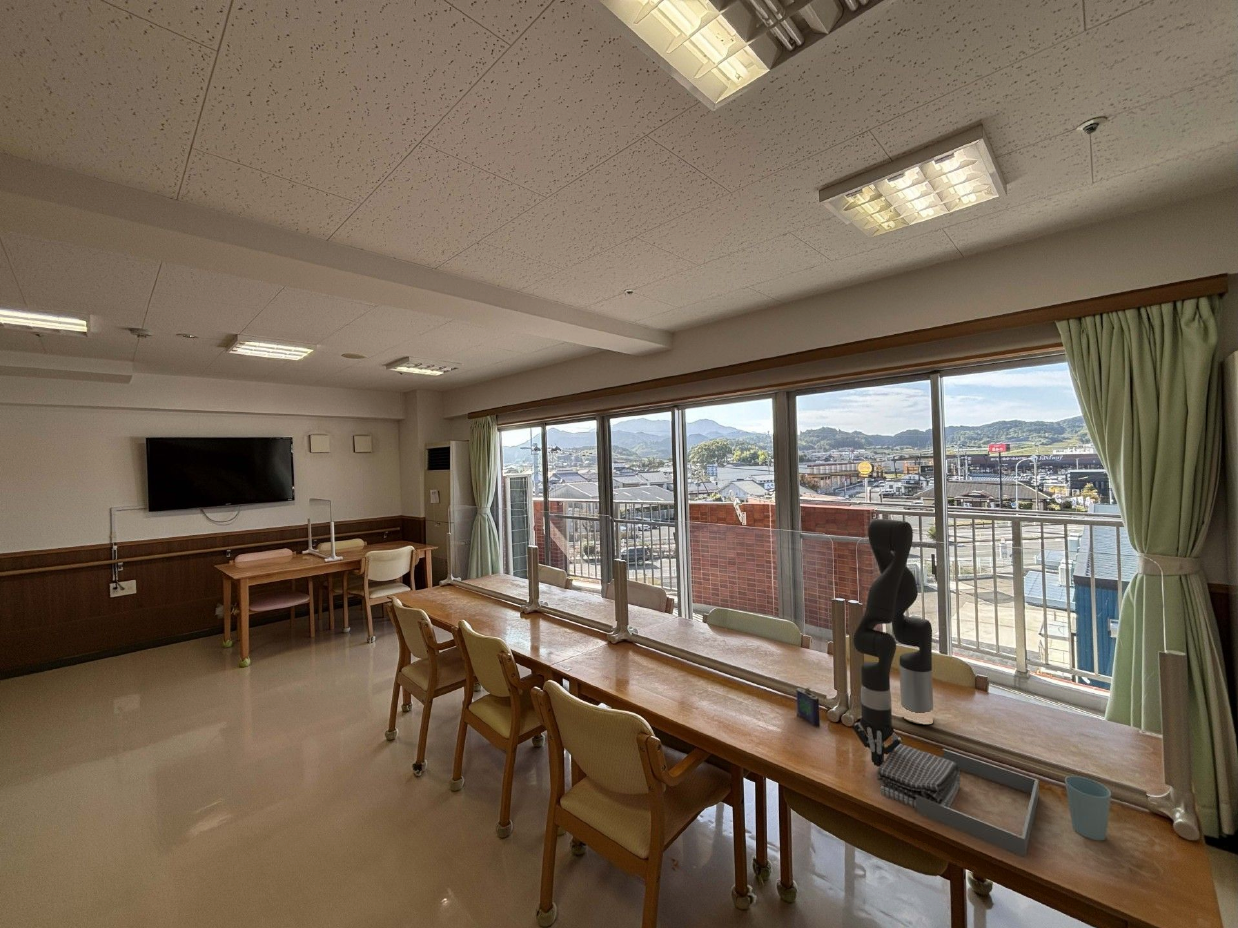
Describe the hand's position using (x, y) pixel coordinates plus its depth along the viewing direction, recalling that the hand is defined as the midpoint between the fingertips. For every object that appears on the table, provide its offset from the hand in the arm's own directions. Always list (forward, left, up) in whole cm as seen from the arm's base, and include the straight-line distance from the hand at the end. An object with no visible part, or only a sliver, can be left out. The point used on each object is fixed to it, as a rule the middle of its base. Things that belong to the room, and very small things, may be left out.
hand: (877, 764), depth 138 cm
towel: (+2, +11, -2) cm, 11 cm away
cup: (-7, +42, -2) cm, 43 cm away
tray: (-2, +22, -1) cm, 23 cm away
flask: (-13, -26, -2) cm, 29 cm away
